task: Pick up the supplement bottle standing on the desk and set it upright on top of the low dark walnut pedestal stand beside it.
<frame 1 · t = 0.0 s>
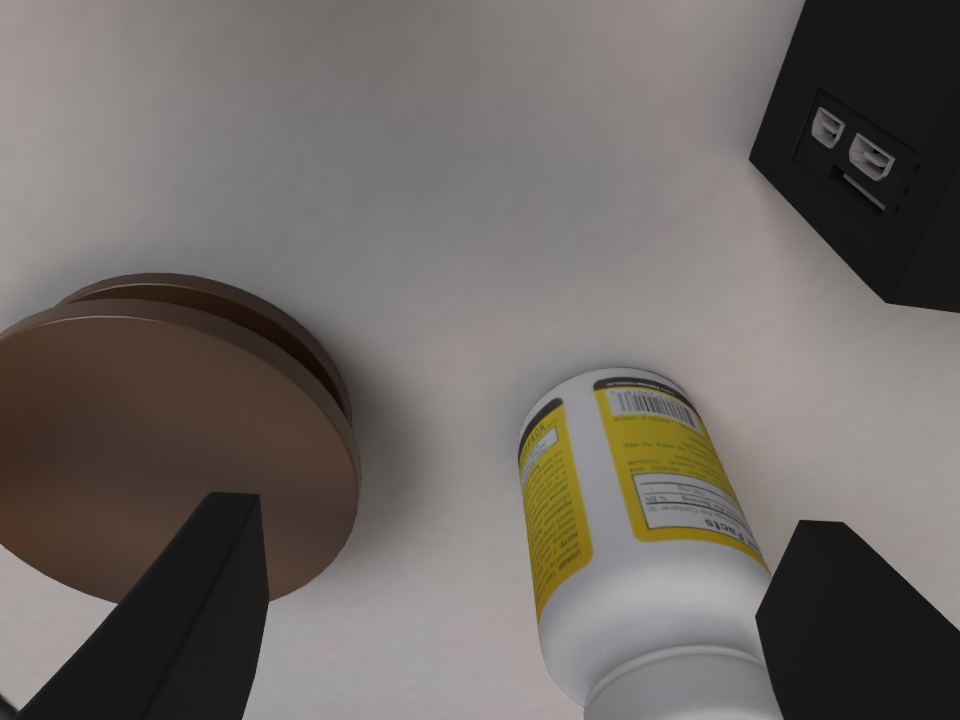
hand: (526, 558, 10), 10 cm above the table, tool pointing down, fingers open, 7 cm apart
supplement bottle: (606, 432, 22), on the table
stand: (192, 413, 21), on the table
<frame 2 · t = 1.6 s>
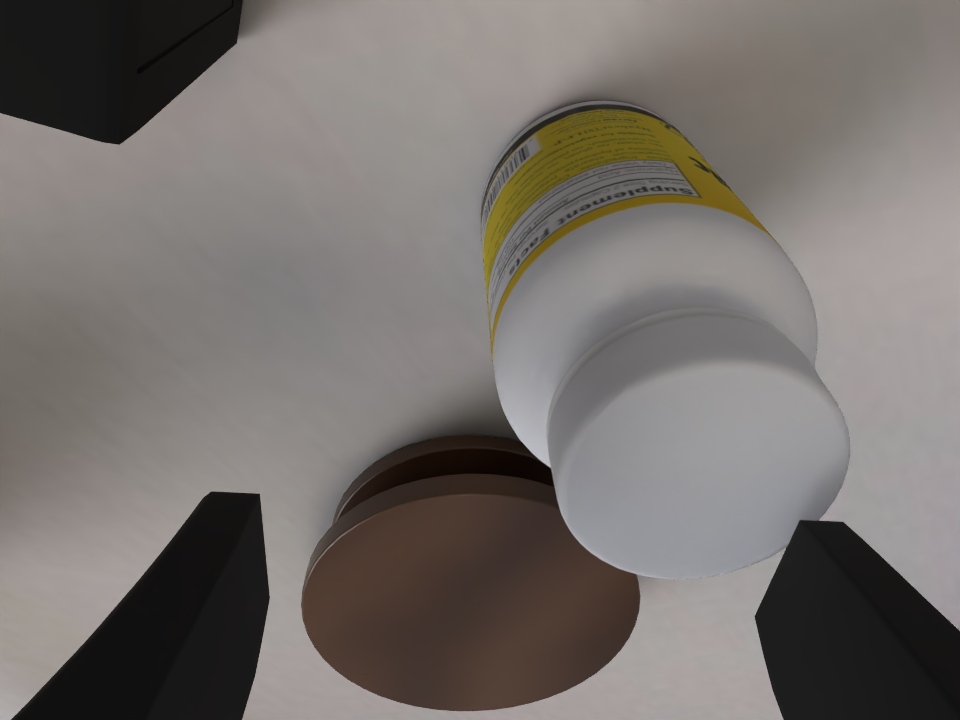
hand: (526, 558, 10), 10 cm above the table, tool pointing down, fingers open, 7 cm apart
supplement bottle: (589, 203, 18), on the table
stand: (470, 539, 25), on the table
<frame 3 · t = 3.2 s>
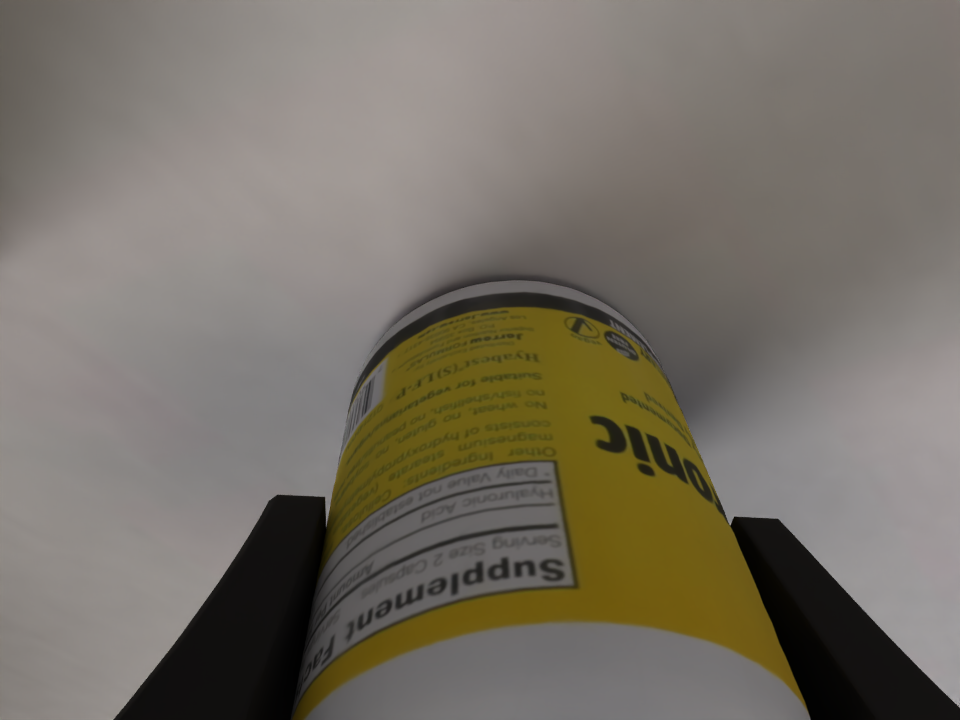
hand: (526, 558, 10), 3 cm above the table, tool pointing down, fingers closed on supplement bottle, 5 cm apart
supplement bottle: (508, 399, 13), on the table, touching gripper
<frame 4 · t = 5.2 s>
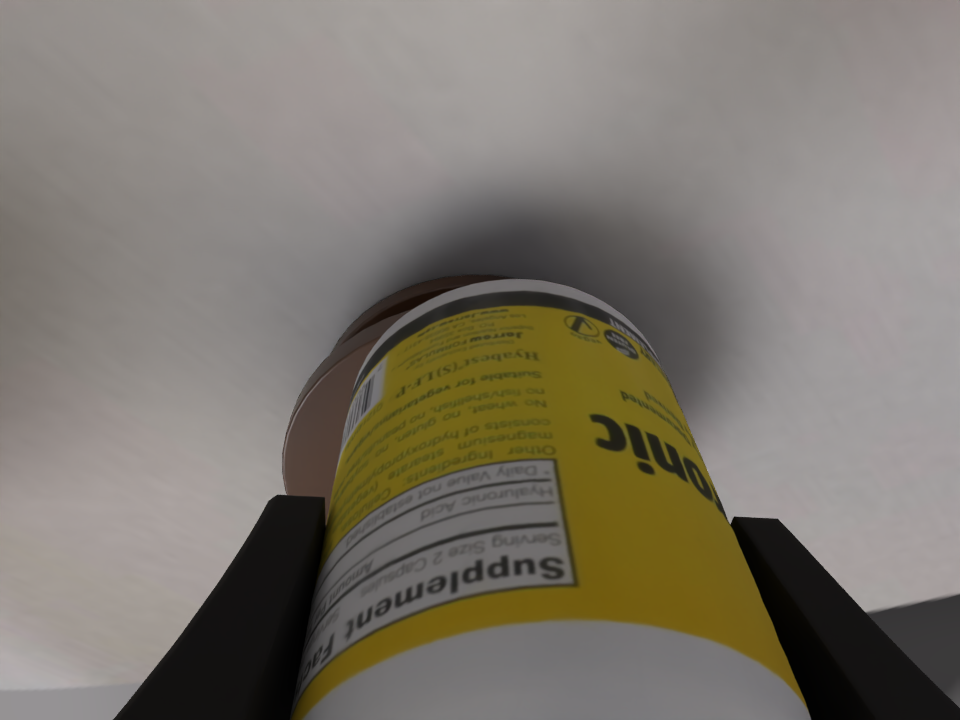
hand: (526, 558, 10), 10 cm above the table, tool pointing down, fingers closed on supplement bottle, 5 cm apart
supplement bottle: (508, 398, 13), point 7 cm above the table, touching gripper
stand: (475, 411, 22), on the table
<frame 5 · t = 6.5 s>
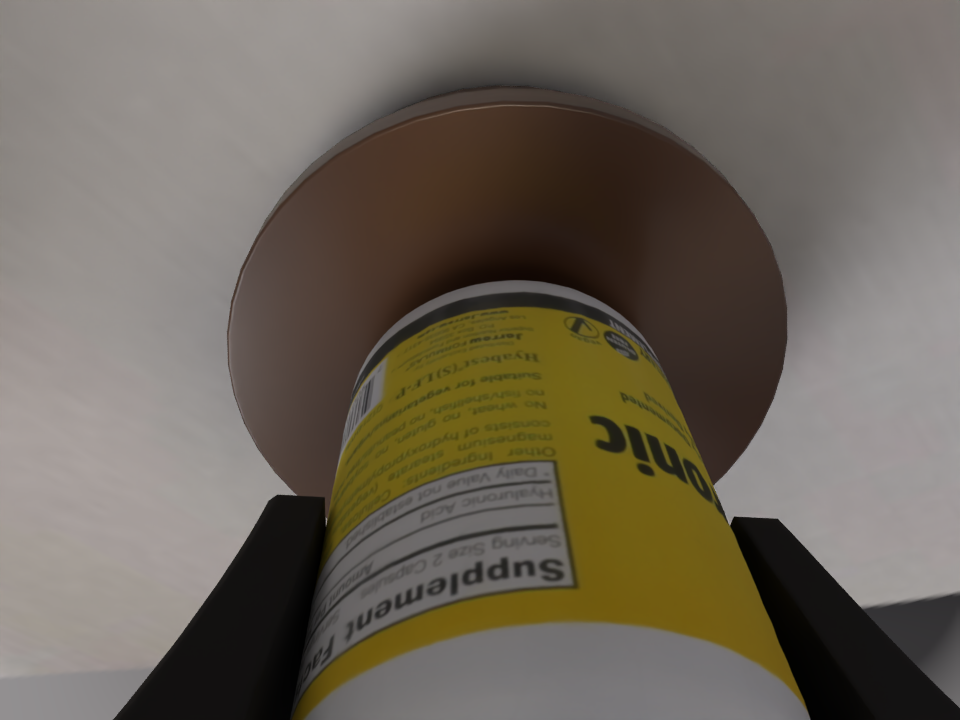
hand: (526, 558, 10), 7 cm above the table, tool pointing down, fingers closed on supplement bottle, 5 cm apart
supplement bottle: (508, 399, 13), point 3 cm above the table, touching gripper
stand: (500, 301, 16), on the table
when the fingers open (6 cm above the table, at t = 7.2 s): supplement bottle stays where it is, resting on stand.
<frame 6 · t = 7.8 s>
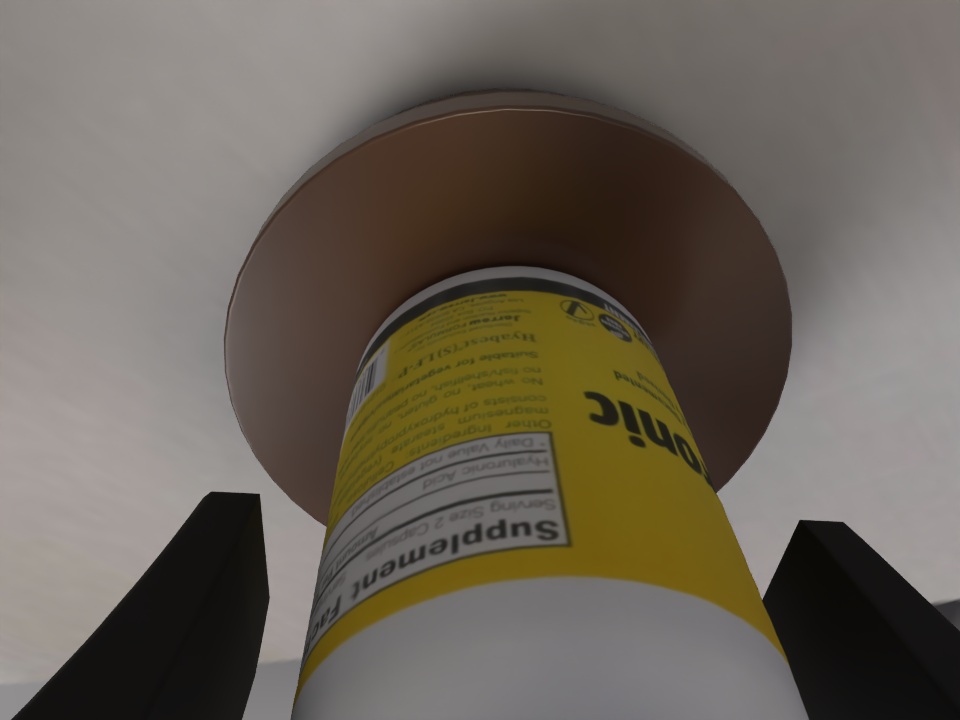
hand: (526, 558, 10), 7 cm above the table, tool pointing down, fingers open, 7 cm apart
supplement bottle: (507, 383, 14), point 3 cm above the table, touching stand
stand: (500, 306, 16), on the table
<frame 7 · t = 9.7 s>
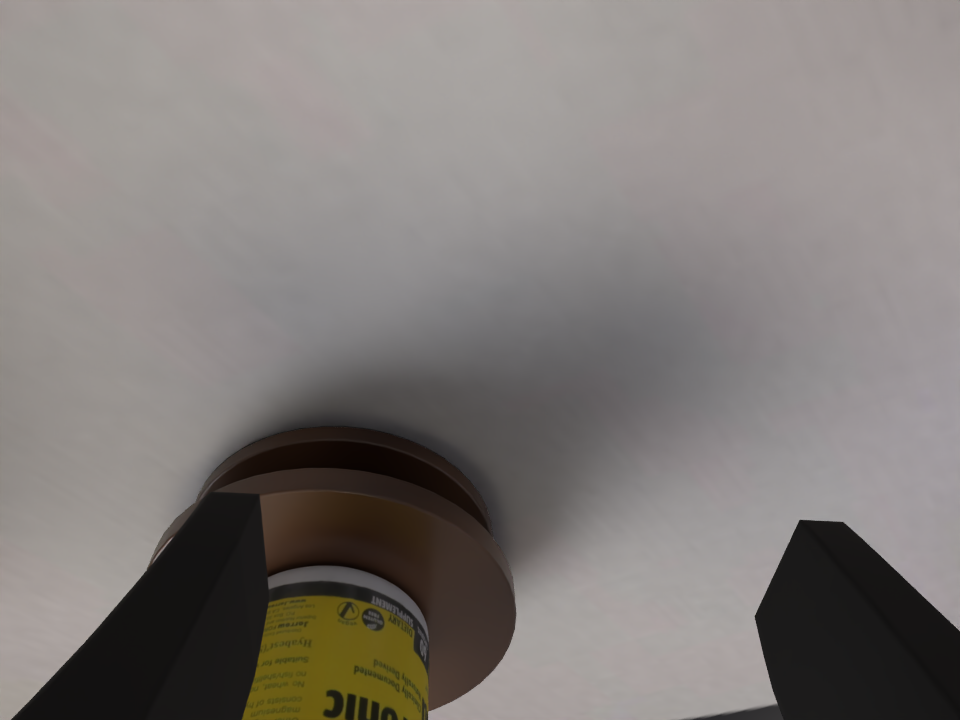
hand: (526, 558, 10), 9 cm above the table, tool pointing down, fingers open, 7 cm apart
supplement bottle: (332, 618, 20), point 3 cm above the table, touching stand
stand: (345, 540, 23), on the table
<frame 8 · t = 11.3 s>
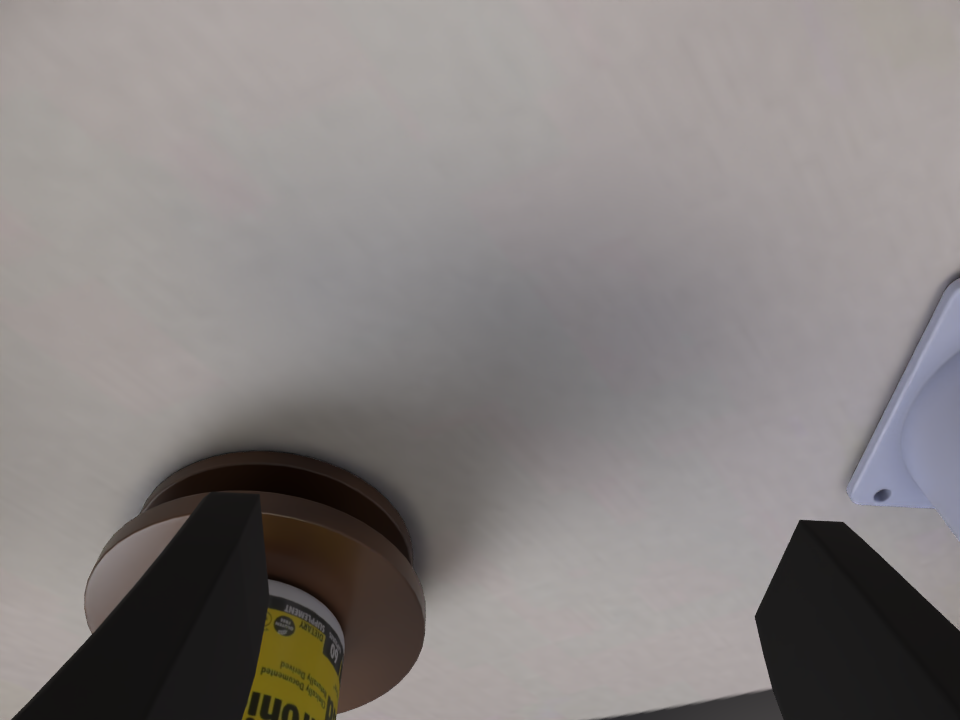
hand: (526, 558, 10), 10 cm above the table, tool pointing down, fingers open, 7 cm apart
supplement bottle: (258, 623, 23), point 3 cm above the table, touching stand
stand: (278, 552, 25), on the table
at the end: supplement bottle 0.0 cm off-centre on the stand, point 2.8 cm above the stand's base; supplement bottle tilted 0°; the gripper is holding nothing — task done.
